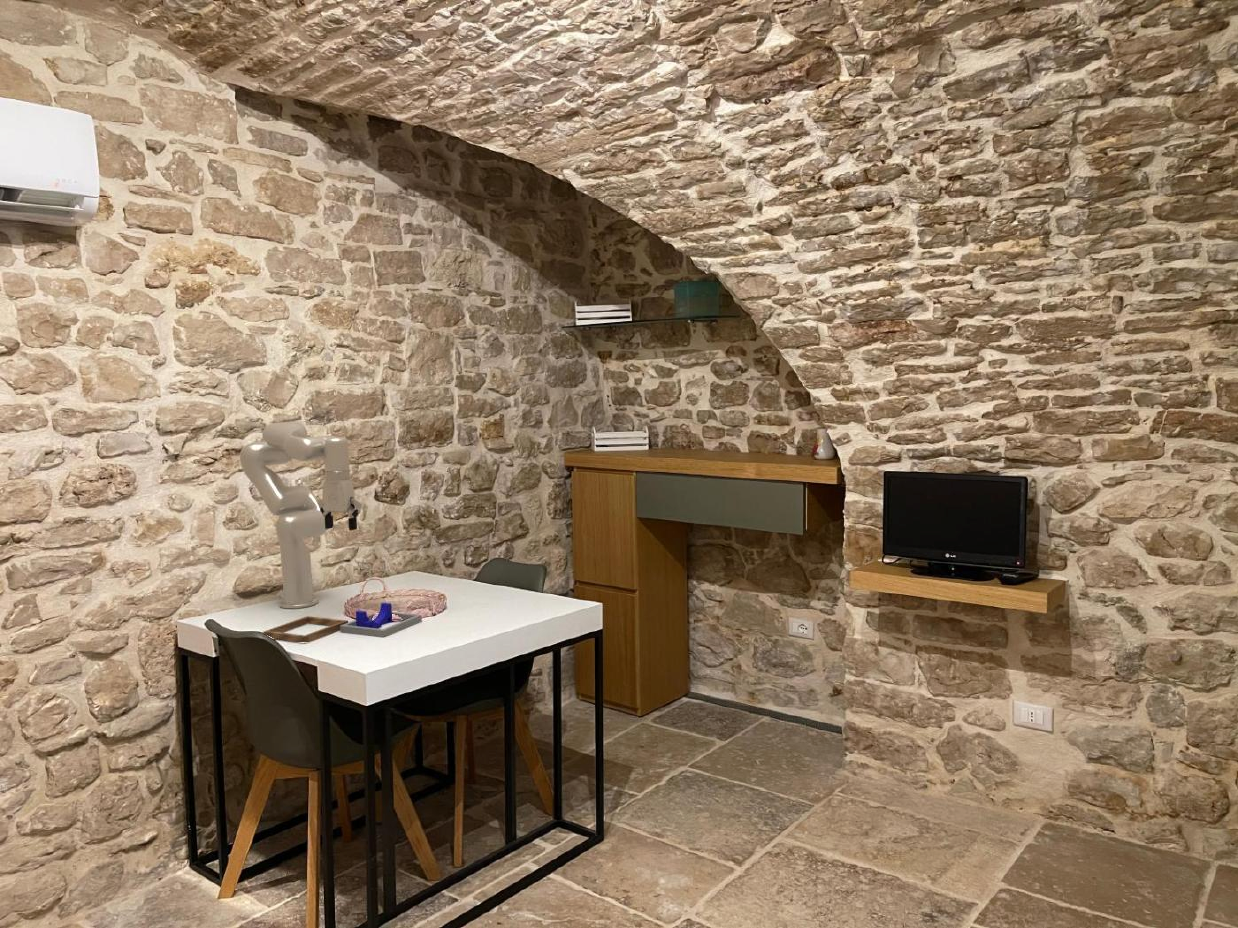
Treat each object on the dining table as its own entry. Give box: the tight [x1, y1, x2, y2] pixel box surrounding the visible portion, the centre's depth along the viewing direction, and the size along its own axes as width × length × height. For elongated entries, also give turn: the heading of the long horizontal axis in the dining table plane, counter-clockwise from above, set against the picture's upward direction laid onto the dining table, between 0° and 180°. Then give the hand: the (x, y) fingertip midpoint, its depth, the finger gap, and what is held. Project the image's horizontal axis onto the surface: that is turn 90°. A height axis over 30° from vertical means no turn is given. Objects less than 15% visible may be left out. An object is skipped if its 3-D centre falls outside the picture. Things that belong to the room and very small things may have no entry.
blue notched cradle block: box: [355, 602, 393, 629], centre depth 294 cm, size 12×4×6 cm, turn 148°
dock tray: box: [340, 610, 423, 638], centre depth 293 cm, size 16×18×2 cm
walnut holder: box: [262, 615, 349, 643], centre depth 289 cm, size 16×18×2 cm
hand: (341, 529), depth 305 cm, fingers open, 9 cm apart
